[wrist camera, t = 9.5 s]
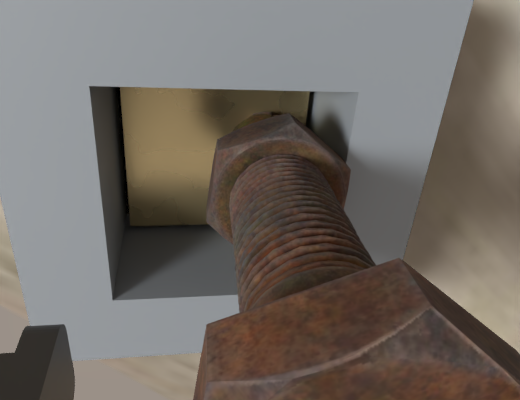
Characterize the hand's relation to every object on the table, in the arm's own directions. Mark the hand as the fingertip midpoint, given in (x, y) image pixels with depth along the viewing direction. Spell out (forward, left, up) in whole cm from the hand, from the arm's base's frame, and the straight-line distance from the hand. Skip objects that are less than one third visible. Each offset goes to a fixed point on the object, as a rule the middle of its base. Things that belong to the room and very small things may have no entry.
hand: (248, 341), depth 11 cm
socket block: (0, 0, -12) cm, 12 cm away
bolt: (-2, 0, -11) cm, 11 cm away
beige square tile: (0, 0, -12) cm, 12 cm away
